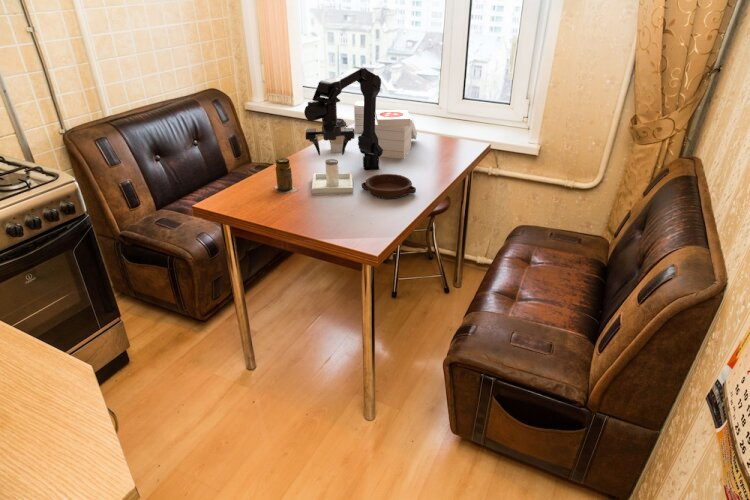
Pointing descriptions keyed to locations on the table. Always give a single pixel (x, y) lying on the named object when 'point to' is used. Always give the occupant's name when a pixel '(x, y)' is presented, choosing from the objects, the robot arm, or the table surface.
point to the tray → (321, 187)
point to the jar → (332, 172)
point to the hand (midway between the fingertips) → (331, 154)
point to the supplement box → (359, 116)
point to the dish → (388, 186)
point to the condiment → (284, 176)
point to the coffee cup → (338, 138)
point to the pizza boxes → (394, 132)
